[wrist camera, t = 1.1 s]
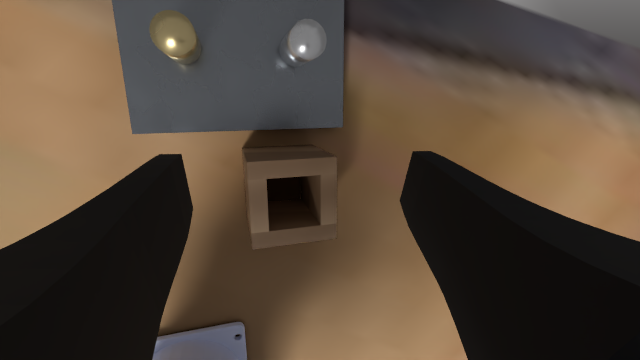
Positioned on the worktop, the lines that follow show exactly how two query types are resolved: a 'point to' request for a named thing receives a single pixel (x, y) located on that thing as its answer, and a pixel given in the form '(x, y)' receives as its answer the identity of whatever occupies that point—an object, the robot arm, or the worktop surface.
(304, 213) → the hollow block
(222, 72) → the pin plate
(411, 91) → the worktop surface
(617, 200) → the worktop surface
